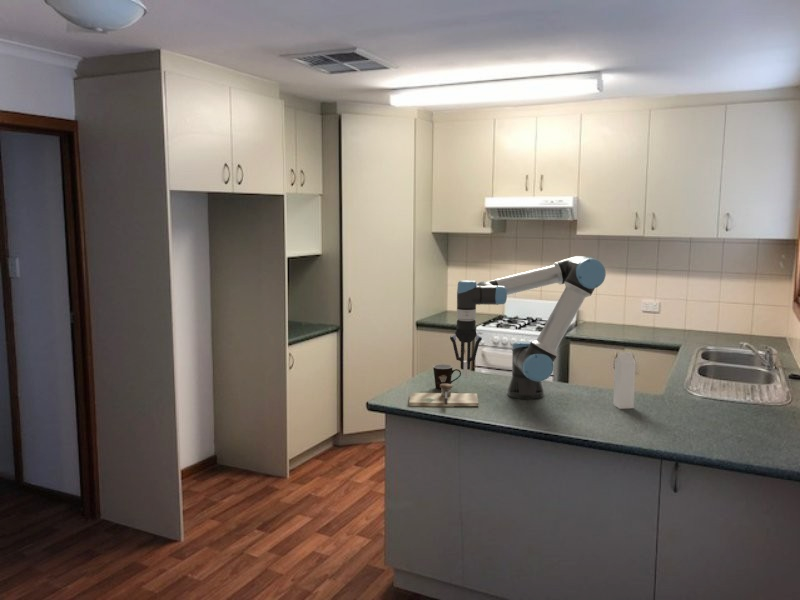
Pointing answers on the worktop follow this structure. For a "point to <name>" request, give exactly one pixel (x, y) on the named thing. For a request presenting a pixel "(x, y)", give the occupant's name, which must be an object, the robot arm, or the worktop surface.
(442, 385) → the dark grey square rod
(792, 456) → the worktop surface
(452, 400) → the wooden board
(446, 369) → the coffee mug
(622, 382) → the milk
